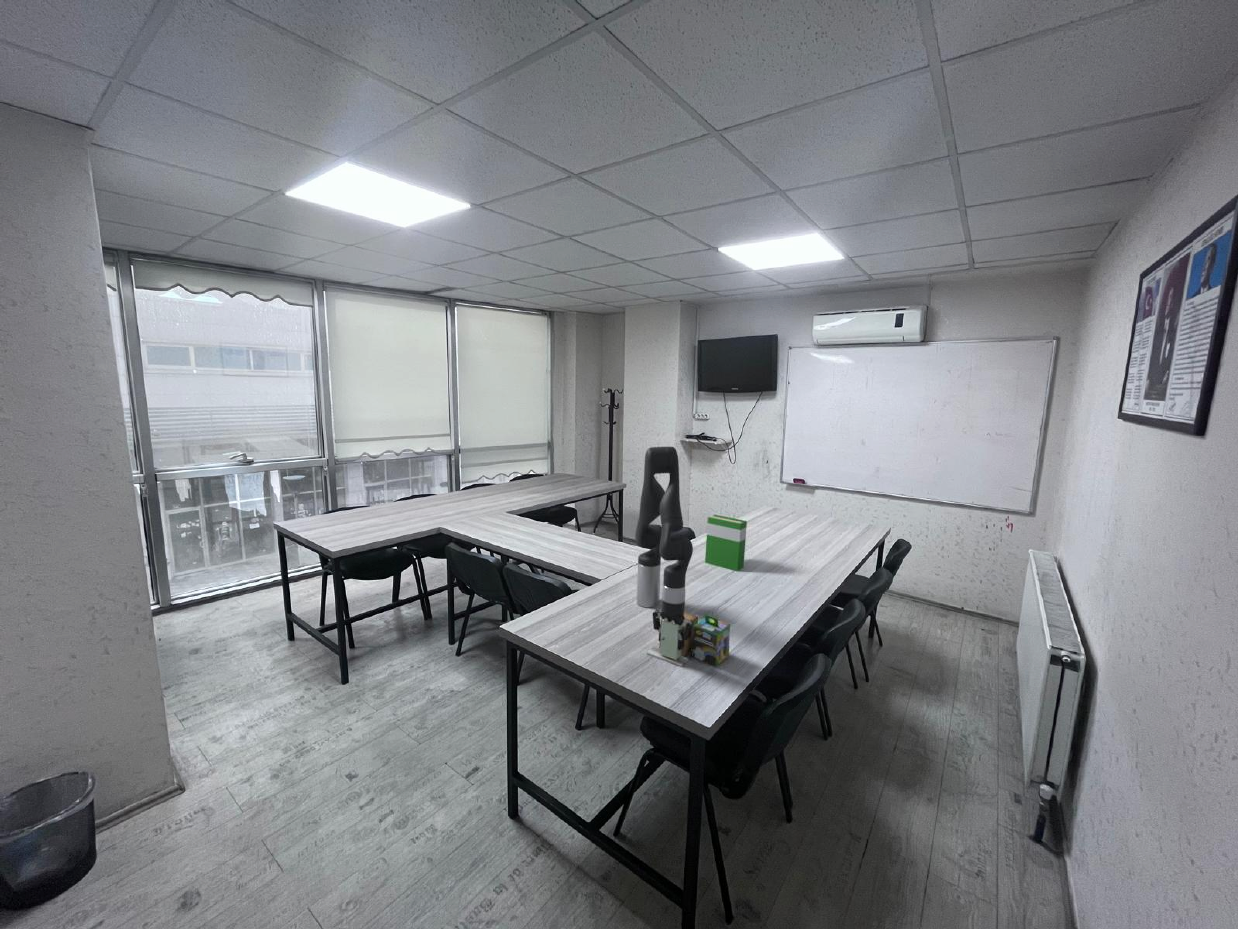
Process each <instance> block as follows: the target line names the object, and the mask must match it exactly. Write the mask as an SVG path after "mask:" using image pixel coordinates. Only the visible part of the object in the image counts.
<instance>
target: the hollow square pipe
mask: <svg viewBox="0 0 1238 929" xmlns="http://www.w3.org/2000/svg"><path fill="white" fill-rule="evenodd" d="M661 619H662V618H661ZM661 619H660V625H661V641H659V646H660V654H661V655H664V656H667V657H669V658H672V659H675V660H677V659H678V658H679V657H680V656H681V650H678V630H680V629H681V628H682V626H683V624H682V625H680V626H679V624H678V625H677V624H676V625H672V623H671V622H670V621H667V623H665V622H664V619H662V620H661Z"/></svg>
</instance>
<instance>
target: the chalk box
mask: <svg viewBox="0 0 1238 929" xmlns="http://www.w3.org/2000/svg"><path fill="white" fill-rule="evenodd" d="M730 634H731V623H728V622H725V621H722V620H719V619H718V618H717V617H714V616H712V615H709V614H707V613H706V614H705V615H704V618H703V619H701V620H698V623H697V624H696V625H694V630H693V649H692V658H694V659H697V660H699V661H701V662H704V663H706V664H708V665H710V666H713V667H717V666H719V665H720V664H721V663H722V662H723V661H725V659H727V658H728V657H729V656H730V641H731V640H730V638H731V635H730Z"/></svg>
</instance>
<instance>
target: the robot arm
mask: <svg viewBox="0 0 1238 929" xmlns="http://www.w3.org/2000/svg"><path fill="white" fill-rule="evenodd" d="M644 455H645V456H644V468H643V473H644V474H643V483H642V488H641V489H642V490H641V495H640V503H639V515H638V519H637V524H636V527H635V528H636V529H635V535H634V536H635V537H634V539H635V544H636V545H637V547H639V548H651V549H649V550H647V551H645V552H642V553H641V554H639V555H638V558H637V580H636V581H637V582H636V583H637V584H636V604H637V605H638V606H640V607H643V608H656V607H657V606H659V604H660V594H661V606H660V608H661V611H659V609H656V610H655V611H653V612H652V624H653V629H654V630H655V631H658V642H660V641H661V626H660V625H661V619H664V622H665V623H667V621H670V622H671V623H672V625H676V624H677V625H678V624H679V626H680V625H682V624H683V623H684V625H685V633H684V631H683V630H684V628H683V626H682V628H681V629H680V630H678V650H681V649H682V648H683V647H684V640H687V639H688V638H689V637H690V635H691V630H692V625H693V621H687V620H685V617H684V612H685V605H686V578H687V571H688V569H689V565H690V561H691V559H692V557H693V552H694V548H693V547H694V546H693V543H692V541H691V539H690V538H687V537H671V534H674V533H678V532H680V531H682V530H683V528H684V520H683V515H682V509H681V497H680V467H679V466H680V465H679V464H680V463H679V455H678V452H677V450H676V448H675V447H674V446H652V447H649V448H647V450H646V451H645V454H644ZM659 474H669V480H668V485H667V487H666V489H664V487H663V486H662V485H661V484H660V483H659V481H658V480H657V479H656V477H655V475H659ZM659 517H660V523H661V524H651V523H652V522H653V521H655V520H656V519H658V518H659ZM662 559H663V560H664V561H669V562H670V561H675V562H674V563H673V564H672V563H671V564H669V565H667V566H665V568H664V569H663V580H662V581H663V582H662V583H663V584H662V589H661V561H662ZM661 590H662V591H661Z"/></svg>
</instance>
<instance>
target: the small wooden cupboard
mask: <svg viewBox="0 0 1238 929" xmlns="http://www.w3.org/2000/svg"><path fill="white" fill-rule="evenodd" d="M684 617H685V620H687V621H693V625H692V630H691V635H690V637H689V638H688V639H687V640H684V647H683V648H682V649H681V656H680V657H679V658H678V659H677V660H675V659H672V658H669V657H667V656H664V655H661V654H660V645H659V647H658V646H655V645H654V646H653V647H651V648H650V649H649V650H648V651H647V652H646V655H648V656H651V657H654V658H656V659H659V660H662V661H664V662H667V663H669V664H672V665H675V666H677V667H680V668H683V666H685V665H686V664H687V663H688V662H689V661H690V660H689V658H687V655H688V654H689V653H691V651H693V630H694V625H696V624H697V623H698V622H699V620H698V619H699V615H696V614H693V613H689V612H687V611H684ZM661 620H662V618H660V621H661ZM660 626H661V624H660ZM683 628H684V630H683V631H684V633H685V625H684V623H683Z"/></svg>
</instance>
